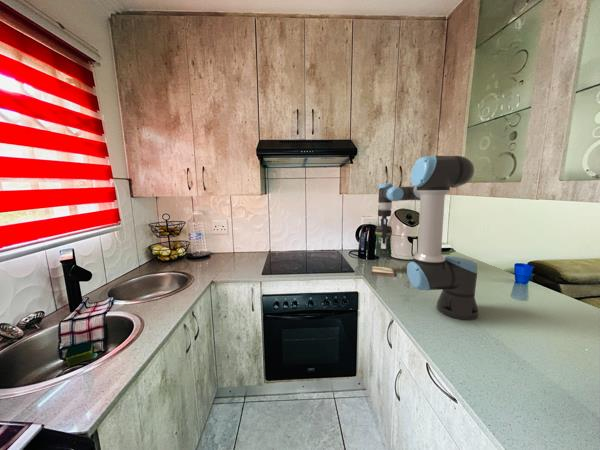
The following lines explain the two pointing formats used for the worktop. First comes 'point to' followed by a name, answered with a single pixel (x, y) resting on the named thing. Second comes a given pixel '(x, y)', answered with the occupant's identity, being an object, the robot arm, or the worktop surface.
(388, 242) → the coffee jar
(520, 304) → the worktop surface
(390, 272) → the tan flat block
